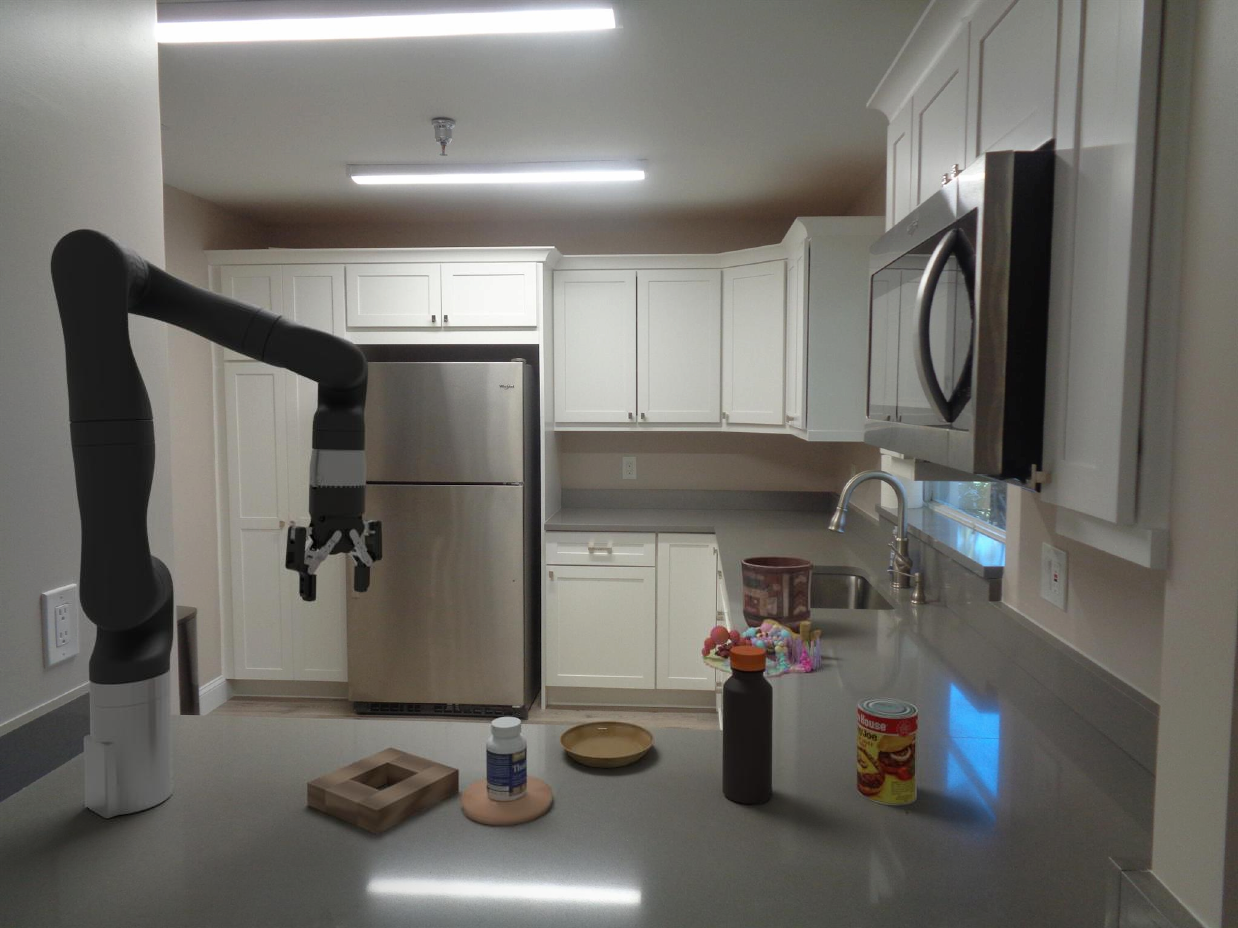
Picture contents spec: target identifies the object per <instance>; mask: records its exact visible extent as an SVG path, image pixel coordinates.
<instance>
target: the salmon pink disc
mask: <svg viewBox="0 0 1238 928" xmlns="http://www.w3.org/2000/svg"><path fill="white" fill-rule="evenodd" d="M552 804H553V790H552V788H551V786H550V785H549V783H547V781H544V780H543V779H541V778H538V777H535V776H531V775H527V791H526V793H525V794H524V795H523V796H522V797H520V798H518V799H516V800H512V801H497V800H494V799H491V798H490V797H489V796H488V794H487V777H486V778H483V779H480V780H478V781H476V782H474V783H472V784H470V785H469V786H468V787H466V789H465V790H464V791H463V793H462V794H461V811H462V813H463V814H464V815H465V816H466V817H467V818H468V819H470V820H472V821H474V822H476V823H481V824H485V825H490V826H491V825H492V826H509V825H517V824H522V823H526V822H530V821H533V820H535V819H537V818H539V817H541V816H543V815H544V814H545V813H547V811H549V810H550V808H551V806H552Z"/></svg>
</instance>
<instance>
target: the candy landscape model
mask: <svg viewBox="0 0 1238 928" xmlns="http://www.w3.org/2000/svg"><path fill="white" fill-rule="evenodd" d="M811 626H812V622H811V621H809V622H808V621H802V622H801V624H800V633H799V634H796V633H794V632H792V631H791V629H790V628H787V627H785V626H782V625H780V624H779V623H778V622H776V621H774V620H771V619H766V620H764V621H763V623H762V625H761V627H758V628H749V627H748V629H747V630H746V631H744V632H742V635H741V633H740V632H739V631H738V630H737V629H731V630H730V631H729V630H728V629H727V628H726V627H725V626H722V625H716V626H715V627H712V629H711V631H710V634H709V637H707V638H705V640H704V641H703V645H704V647H703V648H702V649H701V654H702V656H701V658H702V659H703V660H702V661H703V664H705V666H708V667H709V668H711V669H714V670H718V671H720V672H723V673H726V674H727V673H728V674H730V675H732V670H731V669H730V649H731V648H733V647H736V646H756V647H760V648H762V649H764V650H765V651H766V668H765V672H763V676H764V678H765V679H769V678H777V677H780V676H781V675H783V674H805V673H810V672H811V671H812V670H815V669H817V670H819V667H820V668H821V667H822V657H821V640H820V636H821V634H822V630H821V629H818V630H813V631H811V632H810V629H811ZM741 636H742V637H741ZM728 641H730V642H728ZM717 645H718V646H717ZM716 647H717V650H715V649H716ZM713 650H714V651H713Z"/></svg>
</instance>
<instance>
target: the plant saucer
mask: <svg viewBox="0 0 1238 928" xmlns="http://www.w3.org/2000/svg"><path fill="white" fill-rule="evenodd" d="M598 728H607V729H598ZM558 740H559V745H561V747H562V748H563V750H564V751H565V752H566V753H567V754H568V755H569V756H570V757H571V758H572V759H574V760H575V762H578V763H579V764H582V765H584V766H587V765H588V767H592V766H593V768H605V769H606V768H607V769H608V768H609V769H611V768H619V767H624V766H628V765H630V764H632V763H635V762H637V761H638V760H639V759H641V758H642V757H643V756H644V755H645V754H646V753H647V752H648V751H649V750H650V748H651V747H652V745H653V744H654V740H655V737H654V735H653V733H652V732H651V731H650V730H649V729H647V728H645V727H643V726H641V725H639V724H635V723H630V722H624V721H617V720H613V721H612V720H607V721H606V720H600V721H592V722H591V721H590V722H584V723H581V724H576V725H575V726H572V727H570V728H568V729H566V730H565V731H564V732H562V733H561V734H560V736H559V739H558Z"/></svg>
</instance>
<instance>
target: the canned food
mask: <svg viewBox="0 0 1238 928" xmlns="http://www.w3.org/2000/svg"><path fill="white" fill-rule="evenodd" d="M918 715H919V711H918V707H916V706H915V705H914V704H912V703H910V702H907V701H904V700H902V699H896V698H893V697H892V698H891V697H884V696H883V697H879V696H875V697H866V698H863V699H860V700H859V701H858V702H857V725H856V727H857V731H856V732H857V737H856V739H857V743H856V744H857V745H856V747H857V750H856V751H857V752H856V790H857V793H858V794H859V795H860V796H862V797H863V798H865V799H866V800H868V801H870V802H873V803H877V804H881V805H885V806H894V807H895V806H906V805H910V804H913V803H914V802H915V801H916V800H917V799H918V797H917V796H918V791H917V790H918V737H919V735H918V728H919V727H918V726H919V723H918V722H919V720H918V719H919V718H918V717H919V716H918Z"/></svg>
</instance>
